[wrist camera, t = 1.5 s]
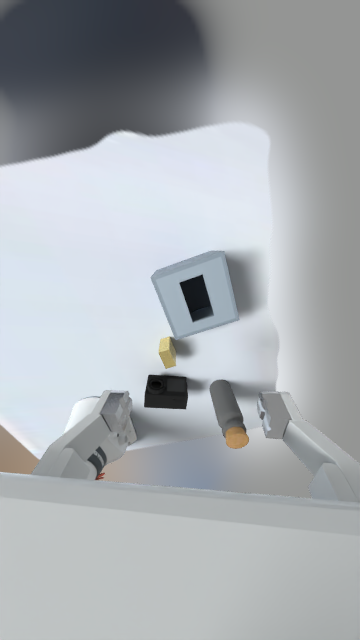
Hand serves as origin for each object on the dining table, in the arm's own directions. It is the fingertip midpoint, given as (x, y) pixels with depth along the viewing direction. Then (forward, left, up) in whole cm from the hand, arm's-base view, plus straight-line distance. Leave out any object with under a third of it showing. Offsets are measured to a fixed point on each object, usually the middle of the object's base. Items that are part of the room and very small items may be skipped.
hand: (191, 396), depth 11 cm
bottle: (-30, -2, -30) cm, 43 cm away
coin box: (0, -3, -30) cm, 30 cm away
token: (-12, +7, -30) cm, 33 cm away
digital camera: (-22, +11, -30) cm, 39 cm away
